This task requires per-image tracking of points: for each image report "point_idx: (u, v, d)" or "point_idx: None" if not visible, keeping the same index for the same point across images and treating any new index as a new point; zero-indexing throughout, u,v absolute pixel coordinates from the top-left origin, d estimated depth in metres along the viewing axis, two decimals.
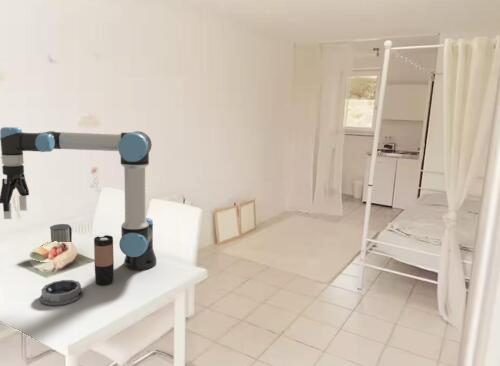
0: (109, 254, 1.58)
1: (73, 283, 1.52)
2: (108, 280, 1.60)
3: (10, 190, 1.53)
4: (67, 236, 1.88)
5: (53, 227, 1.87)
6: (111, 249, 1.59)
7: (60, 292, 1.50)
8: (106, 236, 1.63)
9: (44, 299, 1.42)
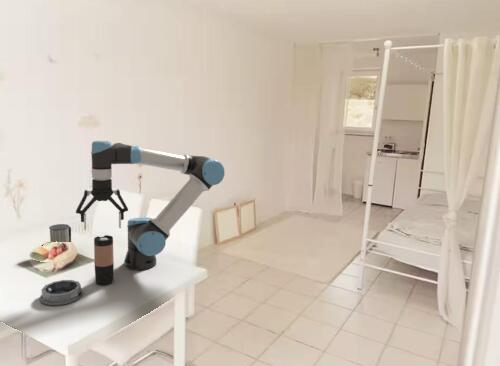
0: (109, 254, 1.58)
1: (73, 283, 1.52)
2: (108, 280, 1.60)
3: (89, 202, 1.54)
4: (66, 236, 1.88)
5: (52, 227, 1.87)
6: (111, 249, 1.59)
7: (60, 292, 1.50)
8: (106, 236, 1.63)
9: (44, 299, 1.42)
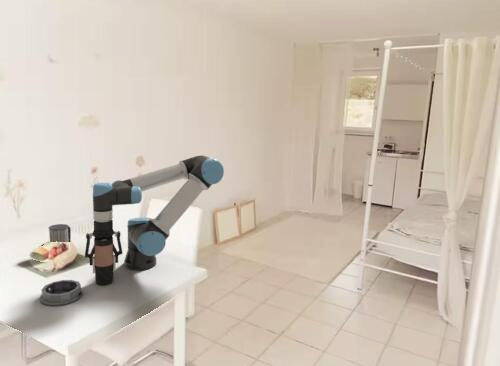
0: (109, 254, 1.58)
1: (73, 283, 1.52)
2: (108, 280, 1.60)
3: (94, 245, 1.57)
4: (66, 236, 1.88)
5: (52, 227, 1.87)
6: (111, 249, 1.59)
7: (60, 292, 1.50)
8: None
9: (44, 299, 1.42)
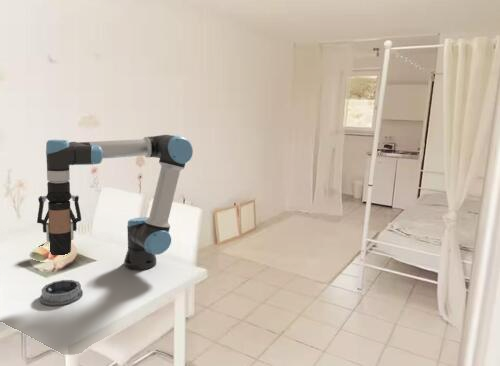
0: (65, 220, 1.41)
1: (73, 283, 1.52)
2: (65, 249, 1.43)
3: (48, 210, 1.40)
4: None
5: None
6: (67, 214, 1.42)
7: (60, 292, 1.50)
8: None
9: (44, 299, 1.42)
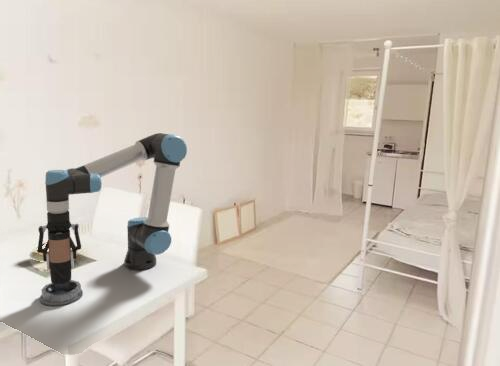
0: (65, 249, 1.43)
1: (73, 283, 1.52)
2: (65, 278, 1.44)
3: (48, 239, 1.42)
4: None
5: None
6: (67, 243, 1.43)
7: (60, 292, 1.50)
8: None
9: (44, 299, 1.42)
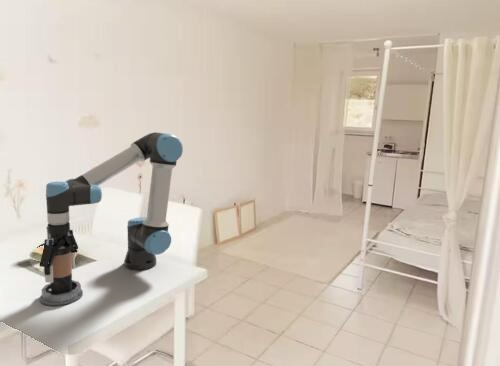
0: None
1: (73, 283, 1.52)
2: (71, 288, 1.49)
3: (53, 251, 1.40)
4: None
5: None
6: None
7: None
8: None
9: (44, 299, 1.42)
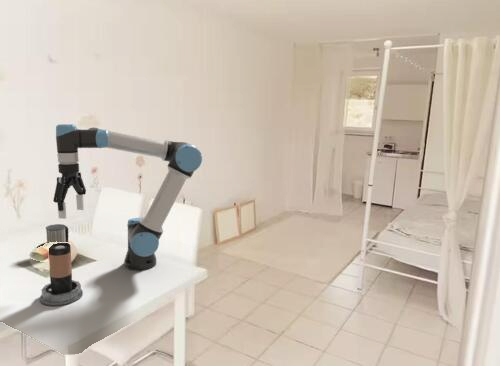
0: None
1: (73, 283, 1.52)
2: (71, 288, 1.49)
3: (65, 189, 1.48)
4: (63, 236, 1.88)
5: (49, 227, 1.86)
6: None
7: None
8: (54, 245, 1.46)
9: (44, 299, 1.42)
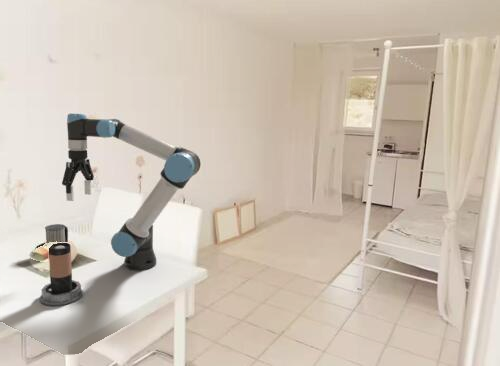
0: None
1: (73, 283, 1.52)
2: (71, 288, 1.49)
3: (73, 173, 1.60)
4: (62, 236, 1.87)
5: (48, 227, 1.86)
6: None
7: None
8: (54, 245, 1.46)
9: (44, 299, 1.42)
